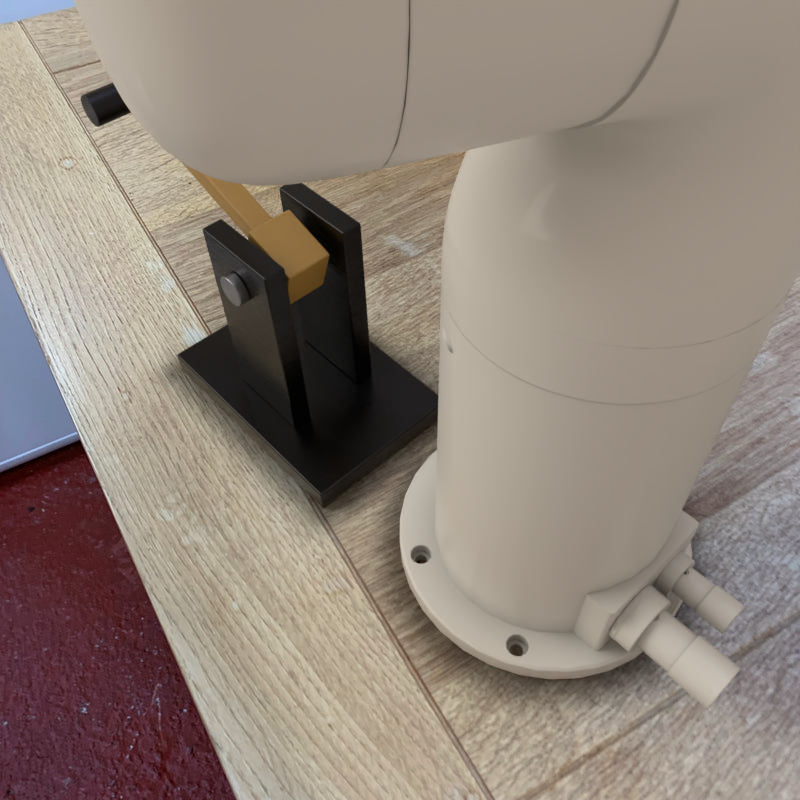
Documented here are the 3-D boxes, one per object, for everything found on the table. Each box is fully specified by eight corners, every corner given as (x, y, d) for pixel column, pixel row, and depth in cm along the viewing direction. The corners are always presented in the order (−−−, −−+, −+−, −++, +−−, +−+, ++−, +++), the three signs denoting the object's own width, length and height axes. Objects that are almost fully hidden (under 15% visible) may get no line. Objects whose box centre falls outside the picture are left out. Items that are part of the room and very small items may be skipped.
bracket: (181, 369, 42) (122, 203, 34) (298, 297, 46) (271, 130, 37) (323, 509, 37) (294, 351, 28) (445, 415, 40) (451, 249, 32)
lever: (84, 120, 37) (75, 80, 34) (176, 80, 39) (174, 40, 37) (258, 324, 34) (261, 295, 32) (347, 270, 36) (355, 238, 34)
